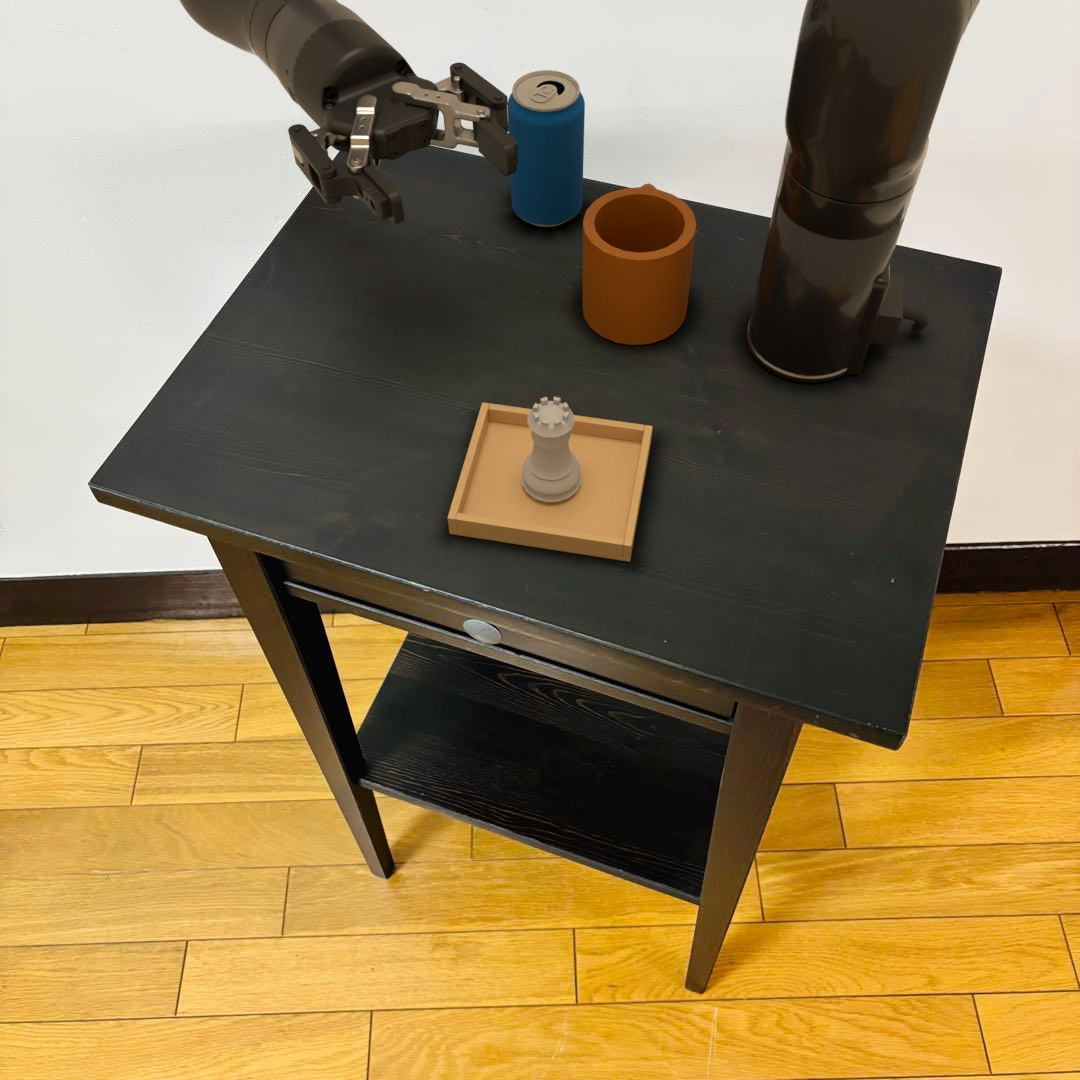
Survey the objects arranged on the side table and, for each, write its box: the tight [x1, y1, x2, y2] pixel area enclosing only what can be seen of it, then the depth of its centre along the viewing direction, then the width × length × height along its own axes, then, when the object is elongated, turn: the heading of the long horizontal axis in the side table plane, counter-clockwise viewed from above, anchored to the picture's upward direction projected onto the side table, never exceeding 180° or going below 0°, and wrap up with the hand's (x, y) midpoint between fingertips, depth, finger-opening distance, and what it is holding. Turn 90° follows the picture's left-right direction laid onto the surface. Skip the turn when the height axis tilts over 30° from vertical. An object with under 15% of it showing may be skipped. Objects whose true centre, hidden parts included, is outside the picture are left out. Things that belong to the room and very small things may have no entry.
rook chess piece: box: [522, 396, 581, 502], centre depth 76 cm, size 4×4×8 cm
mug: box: [581, 183, 697, 346], centre depth 87 cm, size 9×12×9 cm
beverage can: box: [507, 69, 586, 228], centre depth 93 cm, size 6×6×12 cm
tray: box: [446, 401, 654, 563], centre depth 78 cm, size 13×11×2 cm
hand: (456, 186), depth 68 cm, fingers open, 8 cm apart
